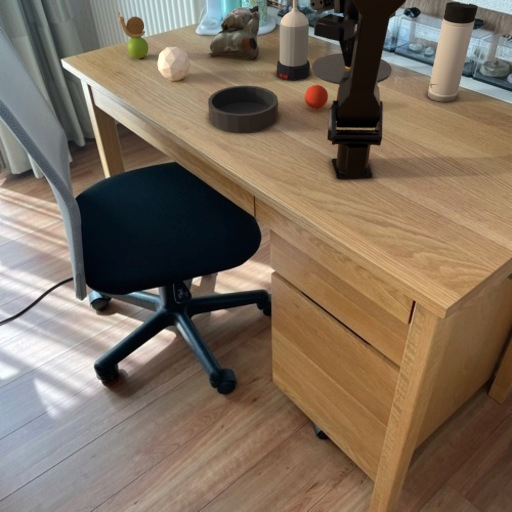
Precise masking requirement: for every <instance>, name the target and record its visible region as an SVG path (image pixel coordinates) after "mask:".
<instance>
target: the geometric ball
mask: <svg viewBox="0 0 512 512" xmlns="http://www.w3.org/2000/svg"><path fill="white" fill-rule="evenodd" d="M156 65H157V69H158V72H159V73H160V75H162V77H164V78H165V79H167V80H169V81H173V82H176V81H181V80H183V79H184V78H185V77H186V76H187V75H188V74H189V71H190V67H191V61H190V58H189V56H188V54H187V53H186V52H185V51H184V50H183V49H182V48H180V47H177V46H167V47H165V48H164V49H163V50H162V51H161V52H159V55H158V58H157V64H156Z"/></svg>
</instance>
